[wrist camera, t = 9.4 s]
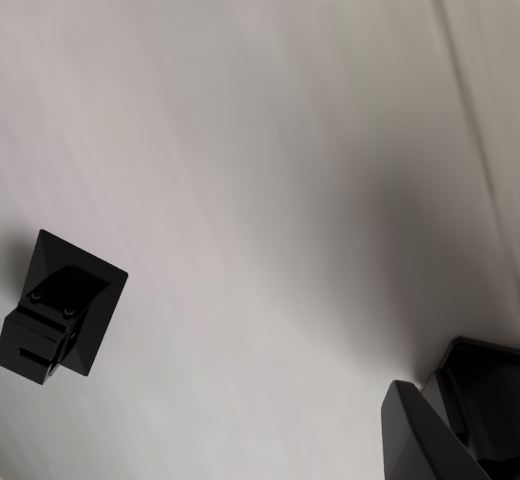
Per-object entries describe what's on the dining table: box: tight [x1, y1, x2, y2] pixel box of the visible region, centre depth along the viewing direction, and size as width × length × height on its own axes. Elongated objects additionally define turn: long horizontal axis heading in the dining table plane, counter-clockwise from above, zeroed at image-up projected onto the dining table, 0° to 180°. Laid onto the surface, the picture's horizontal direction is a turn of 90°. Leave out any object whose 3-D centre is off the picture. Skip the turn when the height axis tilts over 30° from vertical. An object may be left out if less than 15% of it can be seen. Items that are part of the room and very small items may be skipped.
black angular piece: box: [0, 229, 128, 385], centre depth 25 cm, size 12×7×5 cm, turn 153°
